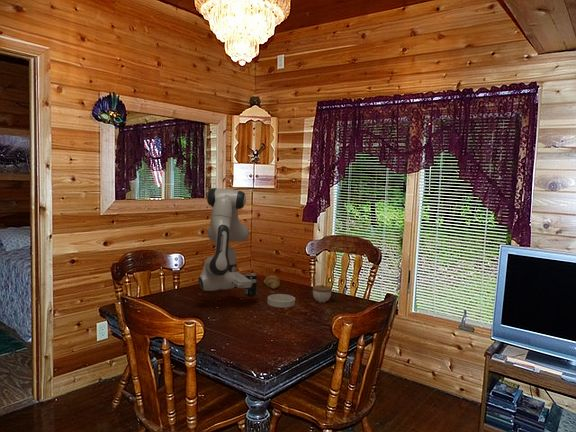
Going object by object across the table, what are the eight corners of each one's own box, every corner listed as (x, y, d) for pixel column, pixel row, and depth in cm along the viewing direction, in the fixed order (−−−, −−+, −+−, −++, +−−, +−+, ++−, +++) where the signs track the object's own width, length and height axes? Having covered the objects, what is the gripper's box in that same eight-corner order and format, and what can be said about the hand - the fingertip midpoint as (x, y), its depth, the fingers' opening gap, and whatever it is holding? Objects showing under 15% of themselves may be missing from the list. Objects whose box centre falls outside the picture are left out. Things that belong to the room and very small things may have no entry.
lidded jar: (324, 305, 233) (325, 288, 232) (308, 300, 239) (309, 284, 238) (334, 301, 241) (335, 285, 240) (318, 297, 248) (319, 281, 247)
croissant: (278, 295, 260) (284, 284, 260) (264, 288, 258) (270, 276, 258) (273, 285, 281) (279, 275, 281) (260, 278, 279) (266, 268, 279)
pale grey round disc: (262, 303, 231) (262, 298, 230) (278, 297, 243) (278, 292, 242) (284, 309, 222) (284, 303, 222) (300, 303, 234) (300, 297, 234)
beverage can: (251, 293, 235) (252, 272, 234) (259, 296, 230) (260, 274, 229) (242, 295, 231) (242, 274, 230) (249, 298, 226) (250, 276, 225)
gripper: (236, 279, 214) (260, 277, 221) (223, 270, 232) (246, 269, 239) (235, 291, 215) (260, 289, 222) (222, 281, 233) (245, 279, 240)
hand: (252, 278), depth 230 cm, fingers closed on beverage can, 6 cm apart
